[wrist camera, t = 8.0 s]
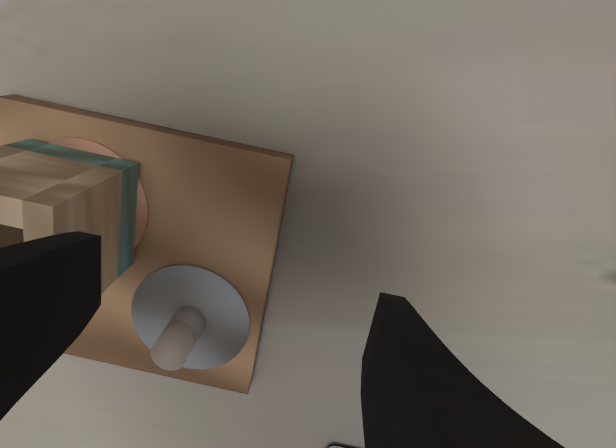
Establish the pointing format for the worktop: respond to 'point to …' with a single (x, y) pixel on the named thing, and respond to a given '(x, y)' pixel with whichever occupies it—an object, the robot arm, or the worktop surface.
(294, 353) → the worktop surface
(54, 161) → the sleeve
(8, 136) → the pin board
